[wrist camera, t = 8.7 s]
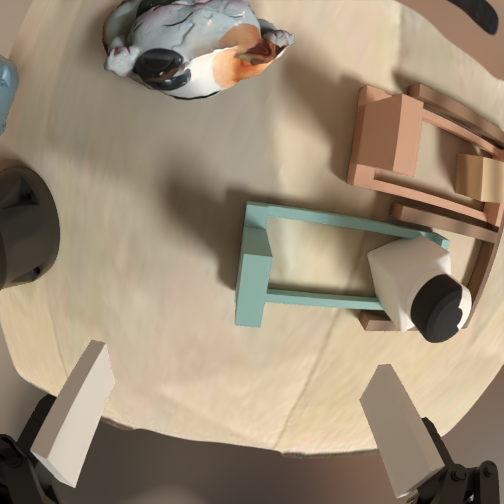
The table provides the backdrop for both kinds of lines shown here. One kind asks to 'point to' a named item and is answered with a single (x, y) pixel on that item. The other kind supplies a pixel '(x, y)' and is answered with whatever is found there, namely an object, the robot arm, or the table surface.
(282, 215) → the frame
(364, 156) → the sled
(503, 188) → the oak cube
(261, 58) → the lucky cat figurine
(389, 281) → the medicine bottle
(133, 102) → the table surface
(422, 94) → the lane rails
